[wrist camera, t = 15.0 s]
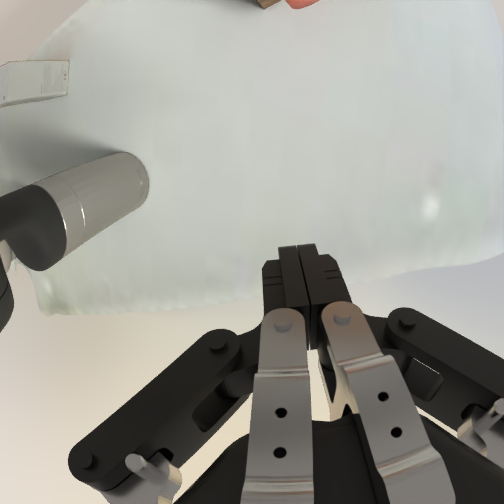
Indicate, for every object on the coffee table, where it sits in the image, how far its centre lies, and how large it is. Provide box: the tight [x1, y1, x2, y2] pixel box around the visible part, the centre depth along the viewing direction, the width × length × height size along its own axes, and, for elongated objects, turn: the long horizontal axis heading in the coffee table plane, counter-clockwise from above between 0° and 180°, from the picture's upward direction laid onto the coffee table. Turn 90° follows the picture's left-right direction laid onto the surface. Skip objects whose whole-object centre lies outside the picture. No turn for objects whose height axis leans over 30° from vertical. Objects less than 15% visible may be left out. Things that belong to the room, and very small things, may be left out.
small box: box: [0, 60, 69, 108], centre depth 30 cm, size 8×6×13 cm
